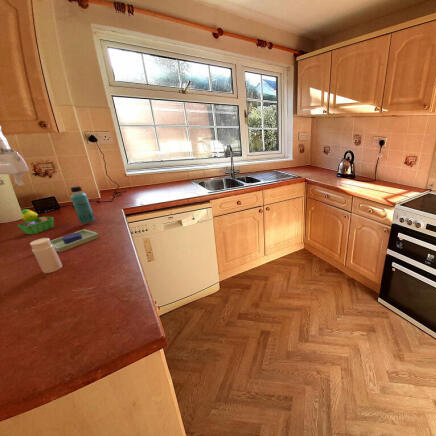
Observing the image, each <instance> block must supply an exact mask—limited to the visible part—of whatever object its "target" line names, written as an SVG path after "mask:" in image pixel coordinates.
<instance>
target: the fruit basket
mask: <svg viewBox="0 0 436 436" xmlns="http://www.w3.org/2000/svg"><path fill="white" fill-rule="evenodd" d="M20 212H21V218H22V220H23V221H24V222H22V223H20V224H17V227H18V228H19V229H20V230H21V231H23V233H25V234H26V235H37V234H38V233H42V232H45V231H48V230H49V229H53V228H54V217H53V216H40V217H38V216H39V215H38V213H37V212H35V211H33V210H31V209H26V208H25V209H21V211H20Z"/></svg>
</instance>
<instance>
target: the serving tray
mask: <svg viewBox="0 0 436 436" xmlns="http://www.w3.org/2000/svg"><path fill="white" fill-rule="evenodd" d="M74 233H80V234H81V236H82V239H80V240H78V241H75V242H72V243H70V244H65V243H64V242H63V239H62V237H64V236H65V235H64V236H60V237H57V238H54V239H52V240H51V239H50V242H51V244H53V246H54V248H55V250H56V252H58V253H62V252H65V251H68V250H70V249H73V248H75V247H77V246H80V245H83V244H86V243H89V242H91V241H94V240H96V239H99V238H100V234H99V233H98V232H95V231H92V230H89V229H85V228H84V229H81V230H78V231H75V232H74Z"/></svg>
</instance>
